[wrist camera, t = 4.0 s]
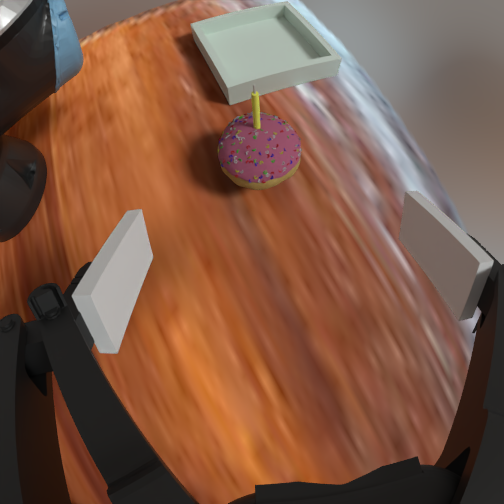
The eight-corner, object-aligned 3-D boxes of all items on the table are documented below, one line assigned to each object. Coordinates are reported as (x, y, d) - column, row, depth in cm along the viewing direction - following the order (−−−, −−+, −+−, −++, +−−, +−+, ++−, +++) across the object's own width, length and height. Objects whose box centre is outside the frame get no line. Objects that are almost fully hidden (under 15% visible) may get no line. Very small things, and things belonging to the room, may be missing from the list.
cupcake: (215, 146, 37) (200, 78, 25) (285, 132, 37) (293, 62, 25) (230, 211, 35) (217, 156, 23) (306, 195, 35) (326, 135, 23)
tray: (193, 40, 41) (190, 24, 38) (286, 16, 43) (287, 1, 39) (229, 105, 38) (227, 87, 35) (337, 75, 39) (341, 58, 36)
